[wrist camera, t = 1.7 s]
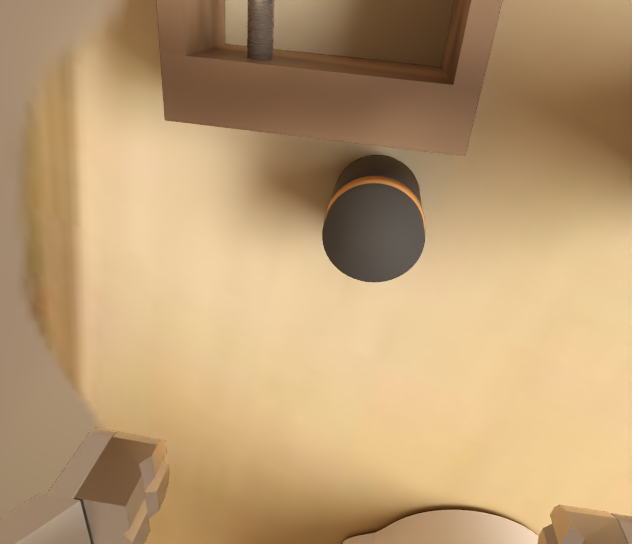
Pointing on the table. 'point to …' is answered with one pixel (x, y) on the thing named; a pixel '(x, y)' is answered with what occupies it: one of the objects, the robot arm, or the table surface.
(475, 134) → the table surface
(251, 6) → the metal rod
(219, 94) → the brown wooden frame
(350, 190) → the orange-banded dark cylinder
